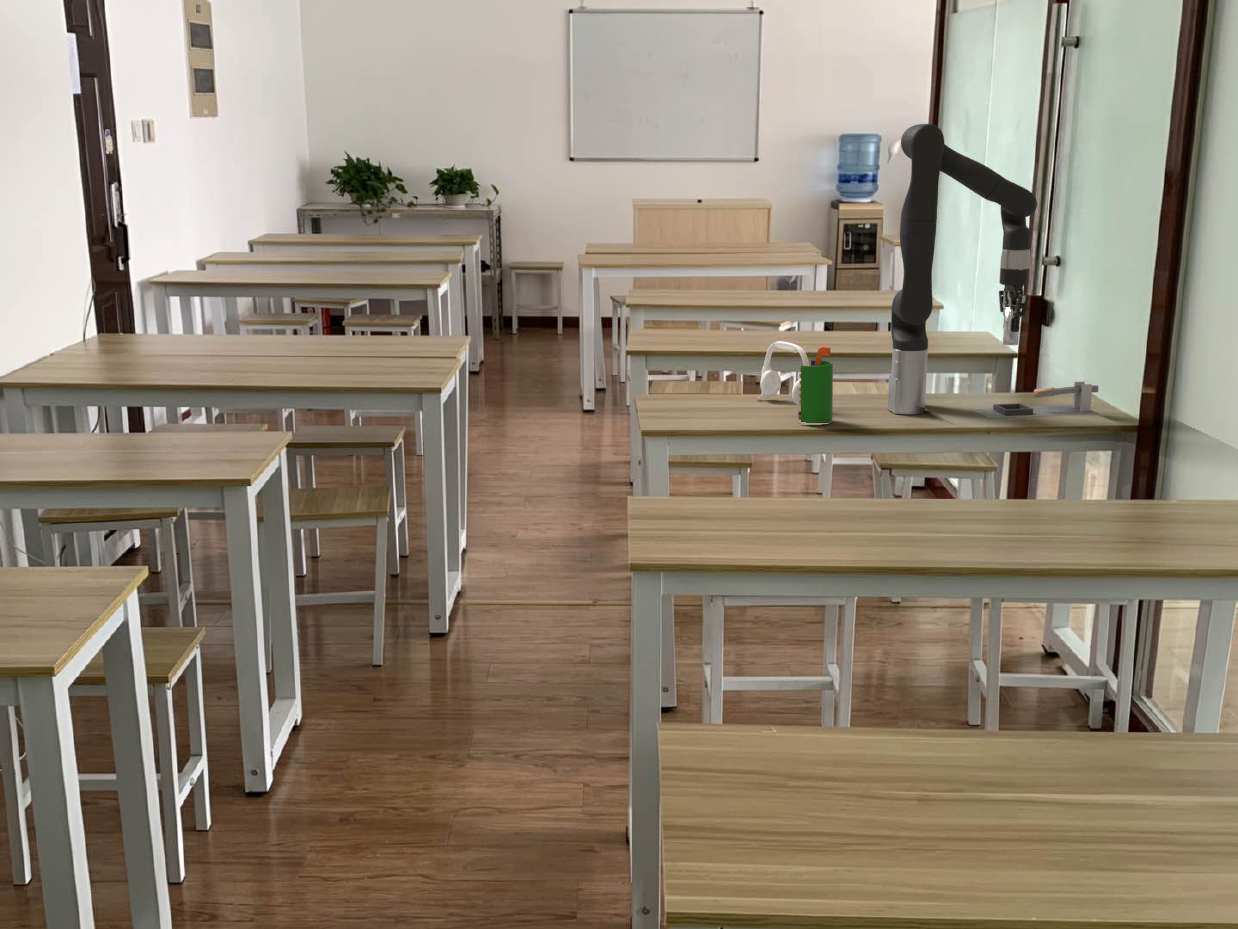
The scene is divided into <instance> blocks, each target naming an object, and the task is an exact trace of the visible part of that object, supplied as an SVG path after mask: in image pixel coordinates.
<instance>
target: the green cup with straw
mask: <svg viewBox="0 0 1238 929" xmlns="http://www.w3.org/2000/svg"><path fill="white" fill-rule="evenodd" d="M823 356H825V357H826V356H827V357H830V356H831V346H825V345H823V346H821V347H820V348H819V349H818V350H817V352H816V356H815V359H810V365H809V366H804V365H801V366H800V367H799V370H798V371H799V372H800V374H799V380H800V379H801V380H800V381H799V384H800V385H801V387H800V388H799V390H800V391H801V393H800V394H799V397H800V398H801V400H799V403H800V404H801V405H800V411H799V412H798V413H797V420H798V419H799V420H801V422H806V423H830V422H832V423H833V400H834V399H833V398H834V396H833V394H834V393H833V390H834V389H833V388H834V387H833V386H834V385H833V382H834V378H833V377H834V373H833V372H834V363H833V361H830V360H822V358H823Z"/></svg>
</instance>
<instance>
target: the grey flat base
mask: <svg viewBox="0 0 1238 929" xmlns="http://www.w3.org/2000/svg"><path fill="white" fill-rule="evenodd" d="M1074 386H1082V387H1081V392H1080V393H1073V398H1072V404H1059V405H1035V406H1033V405H1031V406H1028V405H1025V404H1023V403H1019V402H1018V403H1017V402H1016V403H996V404H995V403H994V404H992V405H993V406H992V407H991V408H990V407H989V408H988V407H985V408H984V407H983V408H971V411H974V412H976V413H977V414H980V415H981V416H984V417H985V418H988V419H1008V418H1009V419H1010V418H1028V417H1029V418H1032V417H1035V418H1036V417H1049V416H1050V417H1055V416H1056V417H1057V416H1058V417H1059V416H1078V415H1082V416H1083V415H1097V416H1100V415H1101V414H1100V413H1099V412H1097V411H1094V410H1092V409H1091V408H1092V406H1091V405H1092V394H1093V393H1092V386H1093V384H1091V383H1088V384H1087V383H1086V381H1074V384H1073V387H1074Z"/></svg>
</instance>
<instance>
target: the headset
mask: <svg viewBox="0 0 1238 929" xmlns="http://www.w3.org/2000/svg"><path fill="white" fill-rule="evenodd" d="M775 348H777V350H784V351H788V352H791V353H794V354H796V353H799V355H800V357H801V360H802V363H803V364H802V366H810V362H809V358H808V355H807V353H806V351H805V349H804V348H802V347H801V346H800V345H798V344H795V343H792V342H789V341H783V340H782V341H781V340H778V341H774V342H773V343H770V345H769V346H768V348H767V351H766V354H765V358H764V362H763V367H761V378H760V384H759V385H760V386H759V387H760V390H761V395H760V396H771V397H774V396H776V395H777V394H778V393H779V392H780V389H781V387H782V386H781V385H782V378H781V376H780V374H779V373H778V371H776V370H774V369H772V367H771V359H772V354H773V351H774V349H775ZM800 380H801V378H799V379H798V380H797V381H796V382H795V383H794V385H793V387H792V388H791V389H792V391H791V397H792V400H793V402H794V403H795V404H796V405H799V406H801V404H800V403H799V400H801V398H800V397H799V394H800V393H801V391H800V390H799V388H800V387H801V385H800V384H799V381H800ZM760 396H758V397H757V398H767V399H769V398H770V397H760Z"/></svg>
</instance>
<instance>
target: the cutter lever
mask: <svg viewBox="0 0 1238 929" xmlns="http://www.w3.org/2000/svg"><path fill="white" fill-rule="evenodd" d="M1081 387H1082V386H1074V385H1073V386H1067V387H1056V388H1055V387H1045V388H1037V389H1036V388H1035V389H1034V390H1033V396H1034V397H1035V398H1043V397H1045V398H1046V397H1055V396H1058V395H1059V396H1060V395H1068V394H1074V393H1080V392H1081ZM1093 393H1099V385H1097V384H1096V385H1093V384H1092V394H1093Z"/></svg>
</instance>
